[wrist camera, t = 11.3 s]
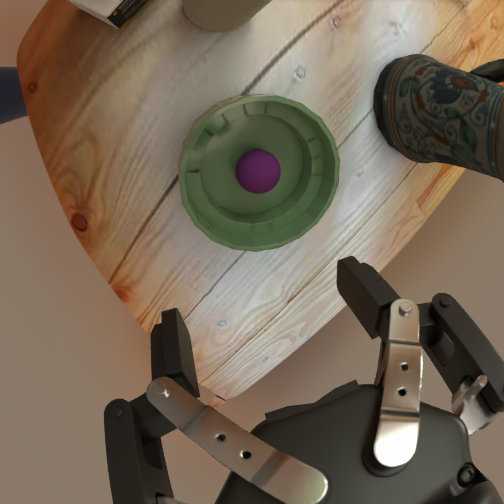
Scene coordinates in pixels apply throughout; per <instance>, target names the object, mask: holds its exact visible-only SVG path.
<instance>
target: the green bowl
mask: <svg viewBox="0 0 504 504" xmlns="http://www.w3.org/2000/svg"><path fill="white" fill-rule="evenodd" d="M256 149H260V150H265V151H268V152H269V153H271V154H272V155H274V156H275V158H276V159H277V160H278V162H279V165H280V168H281V175H280V179H279V181H278V183H277V185H276V186H275V187H274V188H273V189H271V190H270V191H268V192H266V193H262V194H255V193H251V192H248V191H246V190H245V189H244V188H242V187H241V185H240V184H239V183H238V181H237V178H236V165H237V163H238V161H239V159H240V158H241V157H242V156H243V155H244V154H245V153H247V152H249V151H251V150H256ZM339 166H340V159H339V155H338V151H337V147H336V143H335V140H334V137H333V136H332V134H331V133H330V131H329V130H328V128H327V127H326V125H325V124H324V122H323V121H322V119H321V118H320V117H319V116H317V115H316V114H315V113H314V112H312V111H311V110H310V109H308V108H307V107H305V106H304V105H303V104H301V103H299V102H296V101H293V100H290V99H286V98H283V97H280V96H276V95H266V94H251V95H237V96H234V97H232V98H229V99H227V100H224V101H222V102H219V103H217V104H215V105H213V106H212V107H211V108H210V109H208V110H207V111H206V112H205V113H204V114H203V115H202V116H200V117H199V118H198V119H197V120H196V121H195V122H194V124H193V126H192V127H191V129H190V131H189V132H188V134H187V136H186V138H185V139H184V141H183V144H182V149H181V155H180V160H179V184H180V191H181V197H182V203H183V205H184V207H185V209H186V211H187V213H188V214H189V216H190V218H191V220H192V221H193V223H194V225H195V226H196V227H197V228H198V229H200V230H201V231H202V232H203V233H204V234H205V235H206V236H208V237H209V238H210V239H211V240H213V241H215V242H217V243H219V244H222V245H224V246H226V247H229V248H231V249H234V250H244V251H254V252H258V251H263V250H269V249H275V248H279V247H282V246H284V245H286V244H288V243H290V242H292V241H294V240H296V239H299V238H300V237H301V236H303V235H304V234H305V233H306V232H308V231H309V230H310V229H311V228H312V227H314V226H315V225H316V224H317V223H318V222H319V220H320V219H321V218H322V216H323V215H324V213H325V212H326V211H327V209H328V208H329V206H330V204H331V202H332V200H333V197H334V194H335V191H336V189H337V186H338V182H339Z"/></svg>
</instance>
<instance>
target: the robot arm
mask: <svg viewBox="0 0 504 504" xmlns="http://www.w3.org/2000/svg"><path fill="white" fill-rule="evenodd" d="M337 288H338V291H339V293H340V295H341V296H342V298H343V299H344V300H345V302H346V303H347V305H348V306H349V307H350V308H351V310H352V311H353V313H354V314H355V316H356V317H357V319H358V320H359V321H360V323H361V324H362V326H363V327H364V329H365V330H366V331H367V333H368V334H369V336H370V337H371V338H372V339H374V338H376V337H378V336H380V338H381V339H382V341H381V346H380V354H379V361H378V368H377V373H376V378H375V381H374V385H373V384H361V385H358V383H357V381H356V380H354V381H352V382H349V383H347V384H345V385H342V386H340V387H338V388H335V389H334V390H332V391H331V392H329V393H328V394H327V395H325V396H324V397H322V398H321V399H320V400H318V401H317V402H315V403H311V404H304V405H294V406H287V407H284V408H281V409H278V410H275V411H272V412H268V413H265V416H266V420H264V421H262V422H261V423H259V424H258V425H257V426H256V427H255V428H254V429H253V430H252V431H251V432H250V433H249V432H248V431H246V430H244V429H243V428H241V427H240V426H238V425H237V424H235V423H234V422H232V421H231V420H230V419H228V418H226V417H225V416H224V415H222V414H221V413H219V412H218V411H217V410H215V409H214V408H212V407H211V406H209V405H204V404H203V403H202V402H200V401H199V400H198V399H196V398H198V397H200V394H199V388H198V382H197V376H196V370H195V364H194V358H193V352H192V345H191V339H190V335H189V332H188V329H187V327H186V325H185V323H184V321H183V319H182V316H181V314H180V312H179V310H178V308H173V309H170V310H166V311H162V323H160V324H156V325H154V327H153V330H152V332H151V370H152V382H151V383H150V384H149V385H148V387H147V390H146V392H145V393H144V394H143V395H141V396H139V397H138V398H136V399H134V400H132V401H130V402H127V401H126V400H124V399H115V400H113V401H111V402H110V403H109V404H108V405H107V406H106V408H105V411H104V427H105V443H106V454H107V464H108V472H109V479H110V487H111V492H112V499H113V504H187V503H185V502H184V501H181V500H177V499H174V495H173V491H172V488H171V483H170V480H169V475H168V471H167V466H166V462H165V457H164V452H163V447H162V443H161V436H163V435H165V434H167V433H169V432H171V431H173V430H175V429H177V428H178V429H179V430H180V431H181V432H182V433H184V434H185V435H186V436H187V437H188V438H189V439H191V440H192V441H193V442H194V443H196V444H197V445H198V446H199V447H201V448H202V449H203V450H204V451H206V452H207V453H208V454H209V455H211V456H212V457H213V458H215V459H216V460H217V461H219V462H220V463H221V464H223V465H224V466H225V467H227V468H228V469H230V470H231V472H230V474H229V476H228V478H227V480H226V482H225V484H224V486H223V488H222V490H221V492H220V494H219V496H218V498H217V500H216V502H215V504H504V503H503V502H502V499H501V498H500V496H499V493H498V492H497V490H496V488H495V486H494V485H493V483H492V482H491V481H490V480H489V479H488V478H487V477H485V476H484V475H483V474H482V473H481V472H480V471H479V470H478V469H477V468H476V467H475V466H474V464H473V462H472V459H471V455H470V448H469V436H470V435H472V434H473V433H474V432H476V431H477V430H480V429H483V428H485V427H486V426H488V425H489V424H490V423H491V422H492V421H494V420H495V419H496V418H497V417H499V416H500V415H501V414H502V413H503V412H504V361H503V359H502V358H501V356H500V355H499V354H498V352H497V351H496V349H495V348H494V347H493V345H492V344H491V343H490V341H489V340H488V339H487V337H486V336H485V335H484V334H483V332H482V331H481V330H480V329H479V327H478V326H477V325H476V324H475V323H474V321H473V320H472V319H471V318H470V316H469V315H468V314H467V313H466V312H465V310H464V309H463V308H462V307H461V306H460V305H459V303H458V302H457V301H456V300H455V299H454V298H453V297H452V296H451V295H449V294H446V293H438V294H436V295H435V296H434V297H433V299H432V302H430V303H423V304H416V303H415V302H413V301H412V300H410V299H406V298H400V296H399V295H398V294H397V293H396V292H395V291H394V290H393V289H392V287H391V286H390V285H389V284H388V283H387V282H386V281H385V280H383V278H382V277H381V275H379V273H378V272H377V271H376V270H375V269H374V268H373V267H372V266H370V265H368V264H366V263H364V262H363V263H359V262H358V260H357V259H356V258H355V257H354V256H349V257H346V258H343V259H340V260H338V262H337ZM445 333H446V334H445ZM448 337H449V338H448ZM450 340H451V341H452V342H451V341H450ZM453 344H454V345H453ZM423 349H424V350H425V352H426V353H427V355H428V356H429V358H430V359H431V361H432V362H433V364H434V366H435V367H436V369H437V370H438V372H439V373H440V375H441V376H442V378H443V379H444V381H445V383H446V384H447V386H448V387H449V389H450V391H451V392H452V394H453V396H452V401H451V402H452V411H453V412H454V413H451V412H448V411H445V410H442V409H440V408H437V407H434V406H431V405H429V404H426V403H423V402H420V394H421V382H422V362H423V360H422V359H423Z"/></svg>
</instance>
